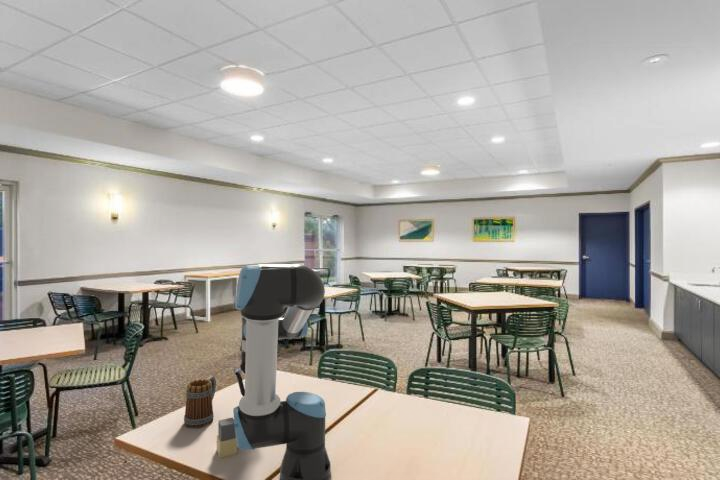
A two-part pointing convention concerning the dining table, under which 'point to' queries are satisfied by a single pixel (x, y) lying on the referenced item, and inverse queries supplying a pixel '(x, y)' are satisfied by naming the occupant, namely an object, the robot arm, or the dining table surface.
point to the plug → (226, 438)
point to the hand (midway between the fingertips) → (251, 413)
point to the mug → (199, 402)
